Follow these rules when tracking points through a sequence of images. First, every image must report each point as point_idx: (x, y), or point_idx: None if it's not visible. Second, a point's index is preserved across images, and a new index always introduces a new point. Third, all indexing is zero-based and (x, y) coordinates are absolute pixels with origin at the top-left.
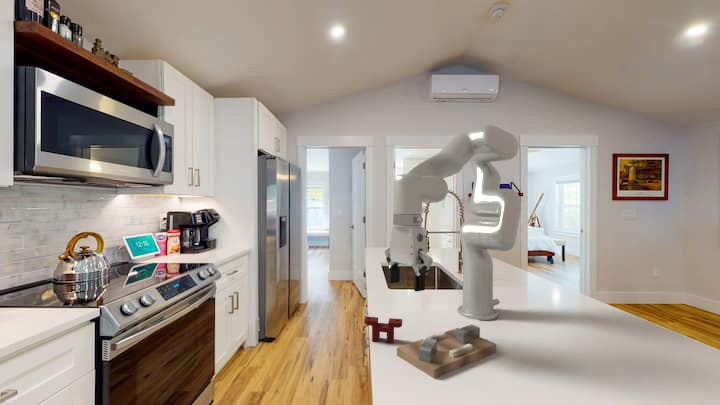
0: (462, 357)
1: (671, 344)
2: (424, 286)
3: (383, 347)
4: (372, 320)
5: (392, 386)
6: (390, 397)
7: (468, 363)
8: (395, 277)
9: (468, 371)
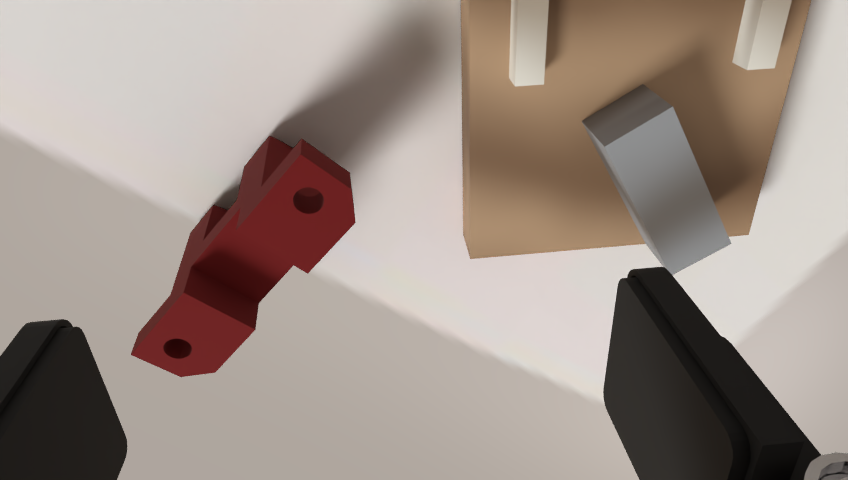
0: (807, 8)
1: None
2: (723, 339)
3: (341, 242)
4: (221, 342)
5: None
6: None
7: None
8: (75, 450)
9: (820, 10)
